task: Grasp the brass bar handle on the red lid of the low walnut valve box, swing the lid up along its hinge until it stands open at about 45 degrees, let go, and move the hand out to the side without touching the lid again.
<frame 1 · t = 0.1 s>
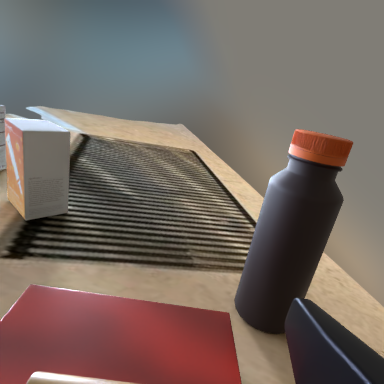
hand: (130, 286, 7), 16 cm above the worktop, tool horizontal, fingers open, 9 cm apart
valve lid: (114, 350, 15), point 8 cm above the worktop, hinge at 0.0°
dark bottle: (262, 312, 31), on the worktop
small box: (37, 207, 44), on the worktop
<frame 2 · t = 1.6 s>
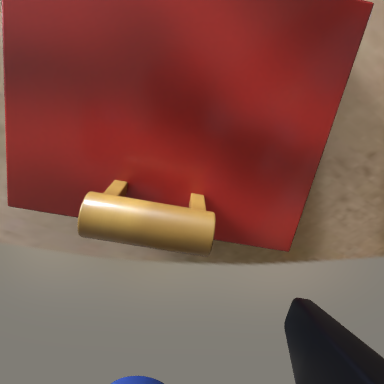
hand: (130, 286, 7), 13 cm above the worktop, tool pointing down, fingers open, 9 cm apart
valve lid: (168, 118, 11), point 8 cm above the worktop, hinge at 0.0°
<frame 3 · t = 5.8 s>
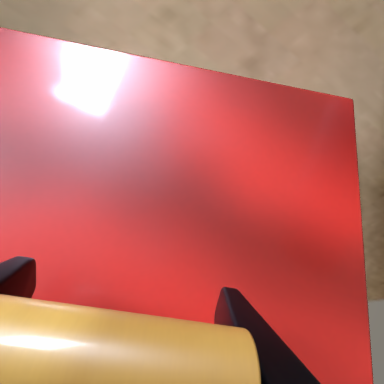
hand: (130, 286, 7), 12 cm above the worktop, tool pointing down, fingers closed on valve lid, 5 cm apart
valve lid: (147, 184, 8), point 11 cm above the worktop, hinge at 40.4°, touching gripper
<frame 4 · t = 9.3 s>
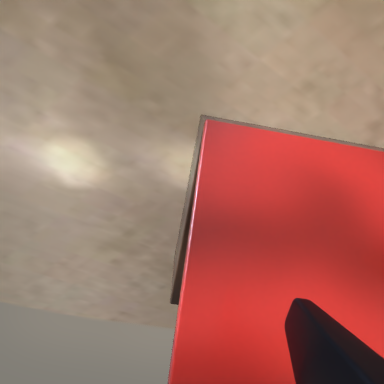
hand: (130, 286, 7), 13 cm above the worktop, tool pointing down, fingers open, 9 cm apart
valve box: (287, 211, 21), on the worktop
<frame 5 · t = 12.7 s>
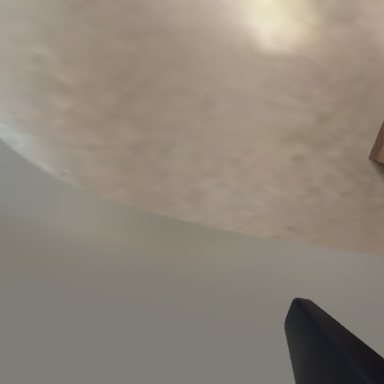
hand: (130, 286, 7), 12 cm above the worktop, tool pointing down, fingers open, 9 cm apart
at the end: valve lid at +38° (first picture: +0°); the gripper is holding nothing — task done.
